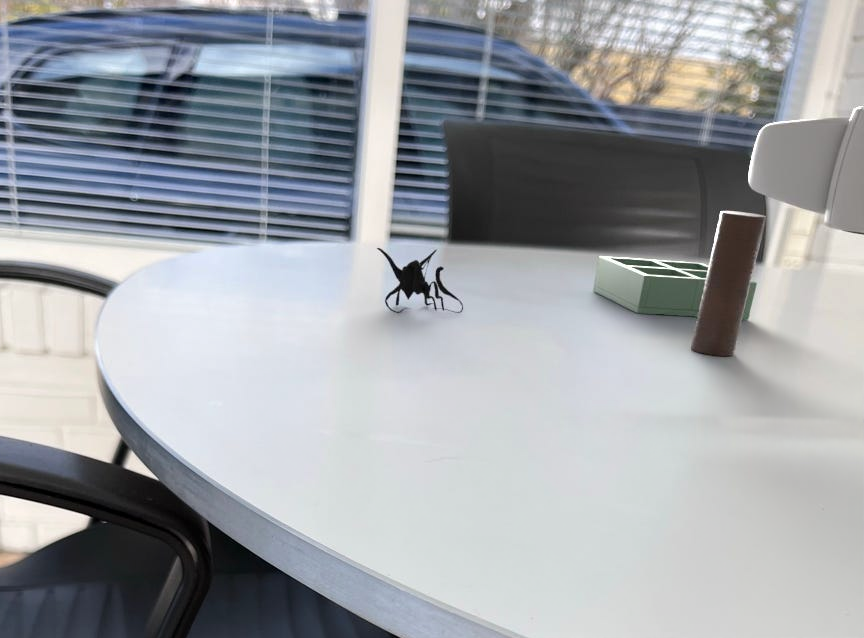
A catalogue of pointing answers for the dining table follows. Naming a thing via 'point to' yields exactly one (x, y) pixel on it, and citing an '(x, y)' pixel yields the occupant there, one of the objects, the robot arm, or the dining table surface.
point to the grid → (656, 285)
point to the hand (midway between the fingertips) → (844, 164)
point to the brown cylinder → (727, 282)
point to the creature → (417, 282)
